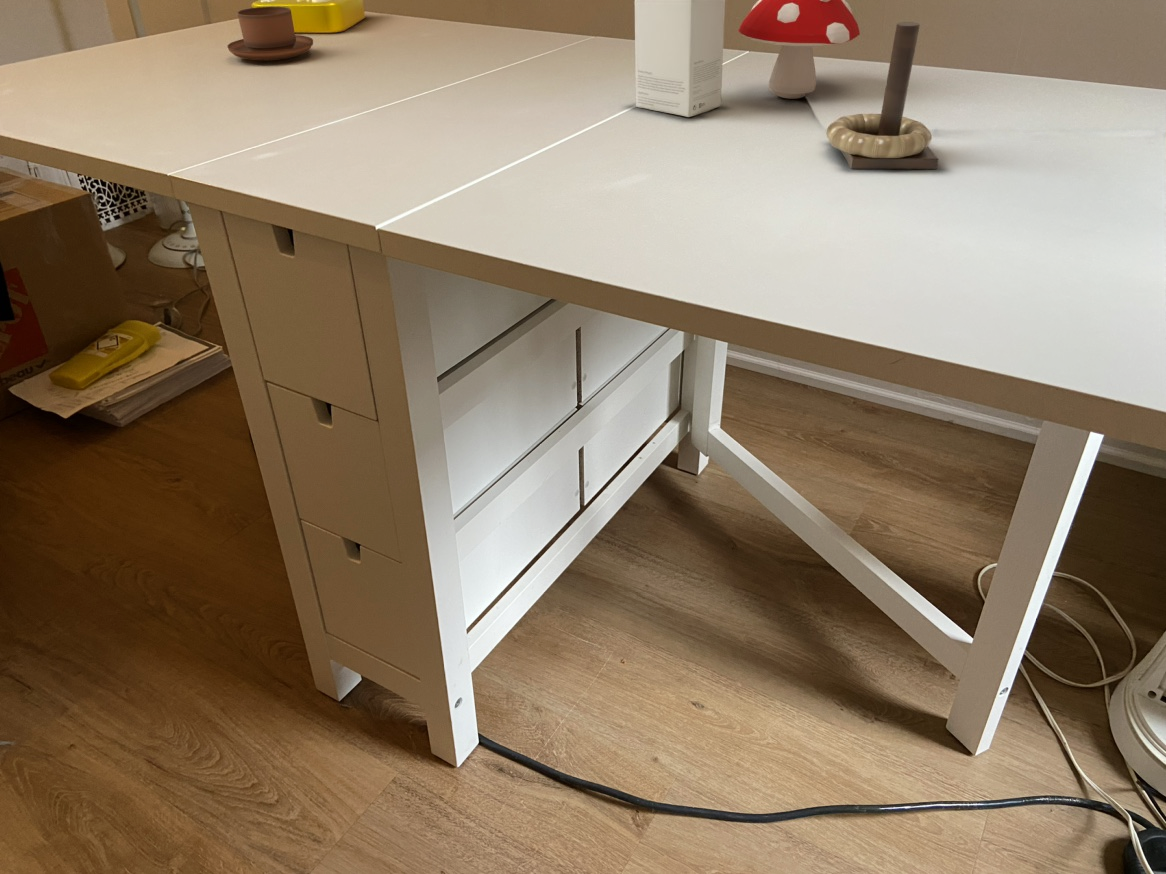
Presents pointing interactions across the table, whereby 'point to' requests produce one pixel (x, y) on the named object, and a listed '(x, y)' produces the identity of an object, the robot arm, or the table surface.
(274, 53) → the cup and saucer
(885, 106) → the peg
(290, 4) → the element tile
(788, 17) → the decorative mushroom
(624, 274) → the table surface
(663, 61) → the cosmetic box
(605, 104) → the table surface
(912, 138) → the ribbed beige ring
